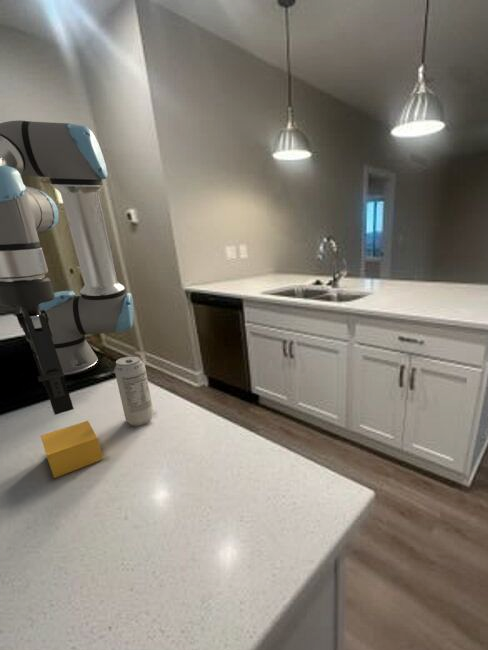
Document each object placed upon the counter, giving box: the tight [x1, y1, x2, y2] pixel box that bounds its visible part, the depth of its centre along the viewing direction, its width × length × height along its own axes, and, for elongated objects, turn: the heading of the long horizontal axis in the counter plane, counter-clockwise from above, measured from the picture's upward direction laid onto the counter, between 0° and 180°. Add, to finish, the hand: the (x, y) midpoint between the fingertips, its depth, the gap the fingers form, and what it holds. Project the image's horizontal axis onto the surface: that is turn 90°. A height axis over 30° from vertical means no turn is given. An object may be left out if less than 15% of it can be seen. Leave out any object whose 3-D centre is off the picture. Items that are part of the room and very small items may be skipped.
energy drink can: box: [114, 355, 155, 426], centre depth 77 cm, size 6×6×15 cm
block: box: [40, 420, 104, 479], centre depth 66 cm, size 8×8×5 cm
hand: (57, 396), depth 62 cm, fingers open, 13 cm apart
